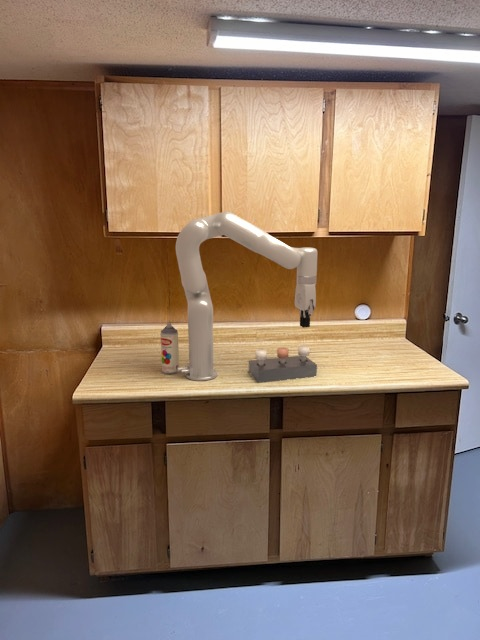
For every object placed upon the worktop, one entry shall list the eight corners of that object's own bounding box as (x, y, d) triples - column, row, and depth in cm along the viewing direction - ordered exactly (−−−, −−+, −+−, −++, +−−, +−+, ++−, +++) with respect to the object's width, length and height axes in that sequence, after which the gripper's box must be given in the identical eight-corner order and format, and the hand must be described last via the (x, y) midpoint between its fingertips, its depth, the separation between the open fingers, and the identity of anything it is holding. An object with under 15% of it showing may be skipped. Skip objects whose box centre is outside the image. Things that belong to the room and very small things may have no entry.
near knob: (257, 373, 178) (257, 353, 176) (253, 369, 182) (254, 349, 180) (268, 372, 179) (268, 352, 177) (264, 368, 183) (264, 349, 181)
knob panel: (258, 382, 175) (258, 370, 173) (248, 372, 186) (248, 360, 185) (316, 376, 181) (316, 364, 180) (303, 366, 193) (304, 355, 191)
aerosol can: (158, 372, 185) (156, 324, 181) (169, 367, 191) (167, 320, 186) (172, 375, 182) (170, 326, 177) (182, 370, 188) (181, 322, 183)
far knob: (300, 368, 183) (301, 349, 181) (295, 365, 187) (296, 346, 185) (310, 367, 184) (311, 348, 182) (305, 364, 188) (306, 345, 186)
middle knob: (279, 370, 180) (279, 351, 178) (275, 367, 184) (275, 348, 183) (289, 369, 182) (290, 350, 180) (285, 366, 186) (285, 347, 184)
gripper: (289, 277, 183) (288, 322, 188) (306, 283, 169) (304, 332, 173) (306, 276, 186) (305, 321, 190) (324, 282, 171) (322, 330, 176)
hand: (304, 326), depth 182 cm, fingers closed
